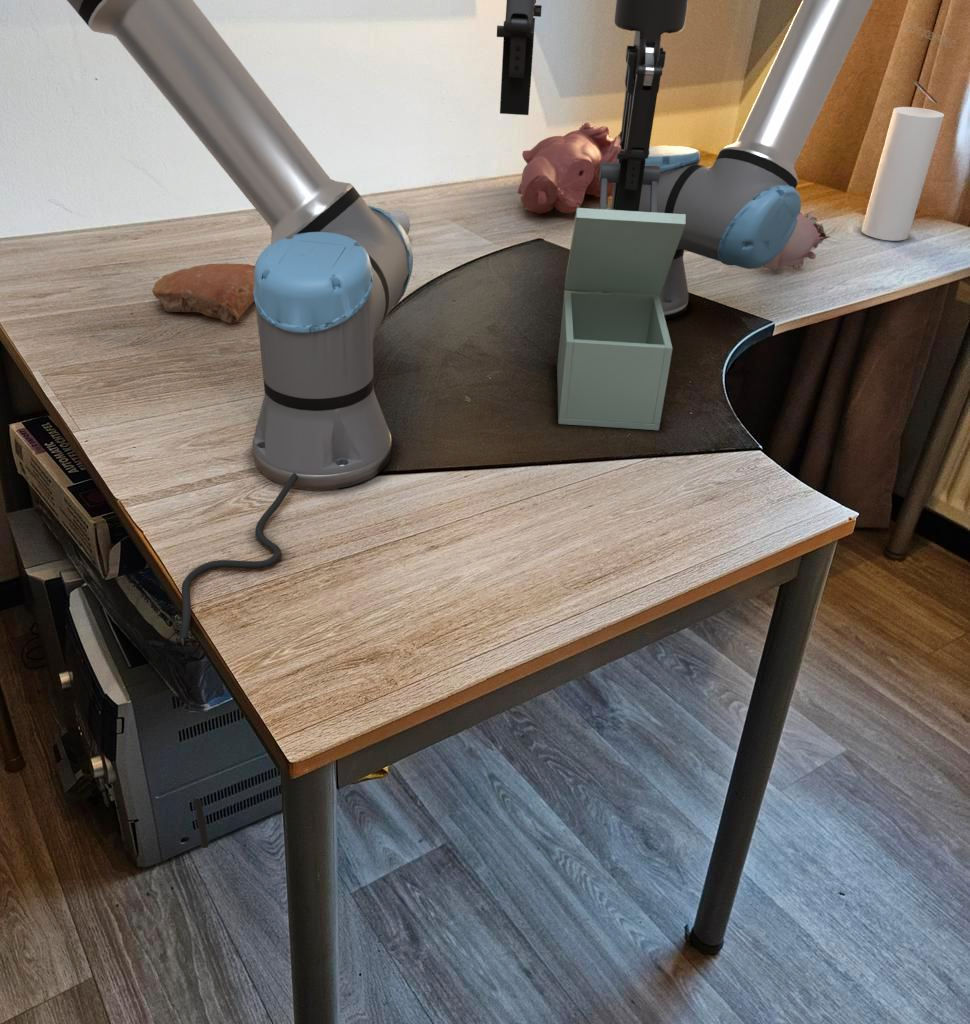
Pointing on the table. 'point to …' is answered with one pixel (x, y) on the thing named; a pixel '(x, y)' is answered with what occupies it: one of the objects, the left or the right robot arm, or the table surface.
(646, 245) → the lid
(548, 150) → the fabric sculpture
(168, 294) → the ceramic shard
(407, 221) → the electric motor
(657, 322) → the chest
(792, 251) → the toy
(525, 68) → the left robot arm
